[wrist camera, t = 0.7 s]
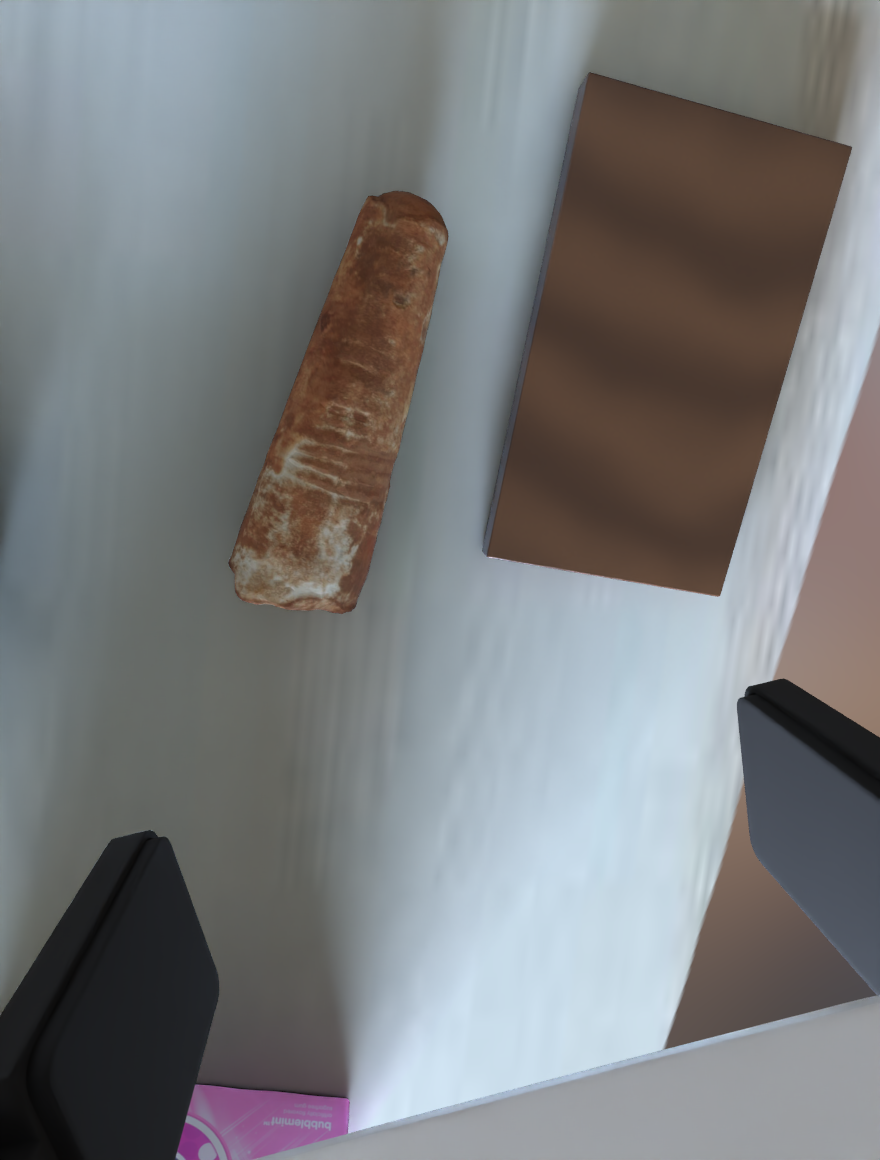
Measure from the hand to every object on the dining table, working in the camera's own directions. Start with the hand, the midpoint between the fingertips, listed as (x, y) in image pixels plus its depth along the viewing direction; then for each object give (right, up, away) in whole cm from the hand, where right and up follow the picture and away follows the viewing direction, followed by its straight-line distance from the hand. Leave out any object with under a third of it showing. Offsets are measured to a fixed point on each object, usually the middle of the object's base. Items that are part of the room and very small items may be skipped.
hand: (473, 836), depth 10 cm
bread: (-6, +13, +22) cm, 26 cm away
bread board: (+10, +15, +23) cm, 29 cm away
